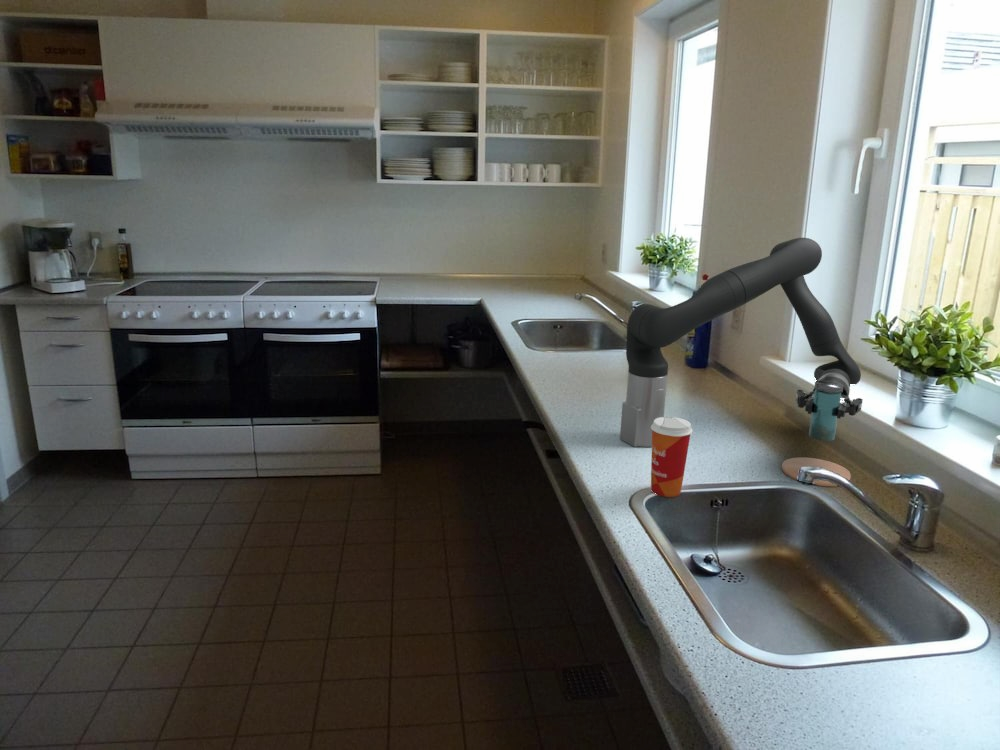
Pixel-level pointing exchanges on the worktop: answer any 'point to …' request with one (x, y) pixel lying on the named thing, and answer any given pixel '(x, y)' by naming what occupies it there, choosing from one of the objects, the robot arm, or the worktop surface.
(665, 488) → the coffee cup
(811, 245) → the robot arm
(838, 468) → the dish
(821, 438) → the canister
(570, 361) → the worktop surface
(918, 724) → the worktop surface
